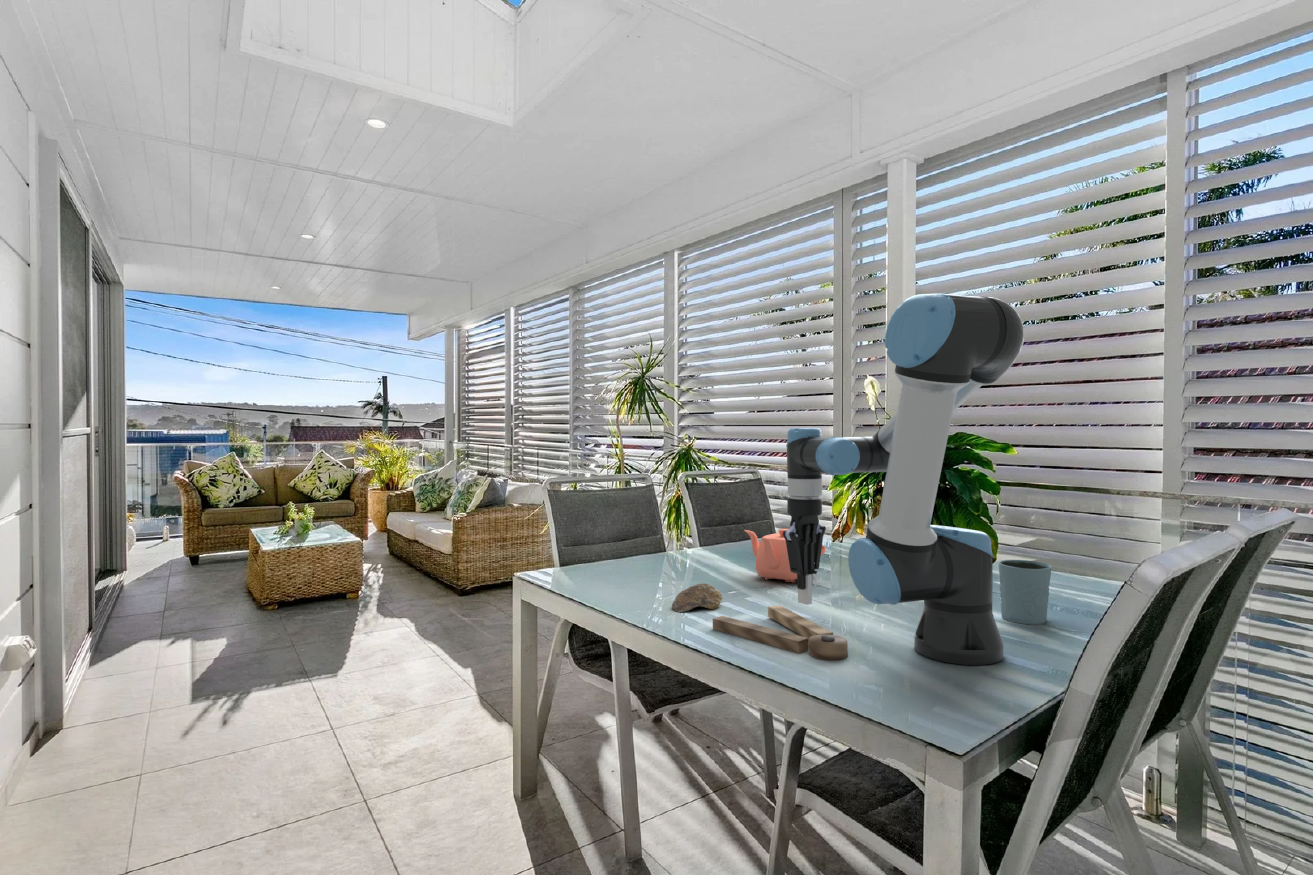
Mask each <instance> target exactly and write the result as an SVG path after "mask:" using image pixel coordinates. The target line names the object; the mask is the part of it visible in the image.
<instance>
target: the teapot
mask: <svg viewBox="0 0 1313 875" xmlns="http://www.w3.org/2000/svg"><path fill="white" fill-rule="evenodd" d="M788 530H789V528H779V529H778V532H776V533H772V534H767V535H764V536H762V537H761V538H760V542H759V539H758V536H757V534H756V533H755V531H752V530H749V529H748V530H747V529H744V532H745V533H747V535H748V536H749V538H750V541H751V547H752V552H753V555H754V557H755V570H756V572H757V574H758V576H759V577H763V578H766V579H777V580H783V581H784V582H785V583H786V582H795V583H796V580H797V574H795V573H793V572H791V571H790V565H789V559H788V552H787V546H786V541H785V538H784V536H783V531H788ZM825 552H827V548H826V547H825V546H824V545H823V544H822V549H821V556H823V555H824V554H825Z"/></svg>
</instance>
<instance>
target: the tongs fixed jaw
mask: <svg viewBox="0 0 1313 875" xmlns="http://www.w3.org/2000/svg"><path fill="white" fill-rule="evenodd" d="M712 630H715V631H719V632H722V633H726V634H729V633H730V634H729V635H733V636H736V637H741V638H744V639H747V640H751V641H754V642H758V643H761V644H765V645H768V646H771V647H775V646H776V648H780V649H783V650H786V651H790V652H792V653H796V654H801V653H803V652H806V651H808V655H809V656H810V657H812V658H815V659H818V660H824V661H841V660H844V659H847V657H848V656H849V655H848V653H849V652H848V649H849V648H848V647H849V646H848V644H849V643H848V639H847V638H845V637H843V636H841V635H836V634H833V635H827V634H821V635H814V636H811V637H809V640H808V638H806V637H803V636H801V635H799V634H794V633H790V632H786V631H783V630H780V629H779V630H778V629H774V628H770V627H768V626H763V625H759V624H756V623H752V622H747V621H743V620H740V619H737V618H732V617H728V616H725V615H720V616H717V617H714V618H712Z"/></svg>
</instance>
